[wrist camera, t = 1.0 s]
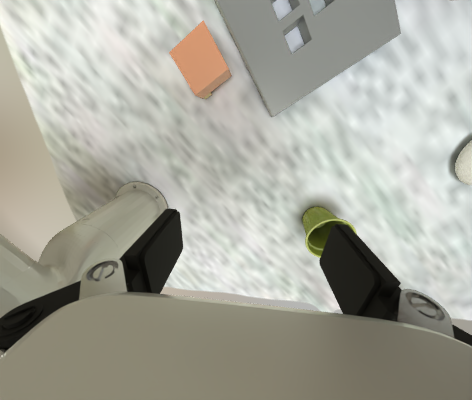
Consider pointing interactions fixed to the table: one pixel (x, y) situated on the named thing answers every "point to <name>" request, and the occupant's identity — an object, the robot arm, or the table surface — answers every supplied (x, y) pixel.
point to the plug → (200, 61)
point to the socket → (305, 42)
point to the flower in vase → (465, 164)
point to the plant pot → (319, 228)
